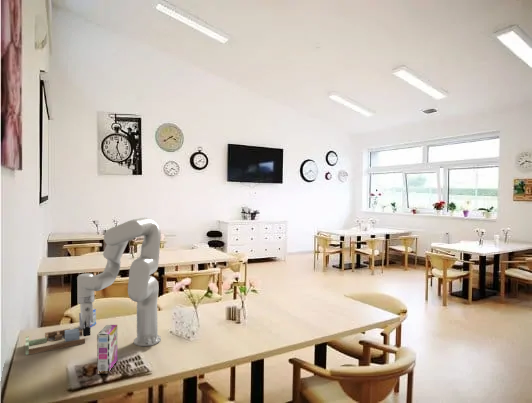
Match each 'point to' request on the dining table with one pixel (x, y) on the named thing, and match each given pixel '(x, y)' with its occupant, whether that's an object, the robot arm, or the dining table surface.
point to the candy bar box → (107, 348)
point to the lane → (52, 336)
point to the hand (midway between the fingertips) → (86, 335)
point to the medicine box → (90, 321)
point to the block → (72, 335)
